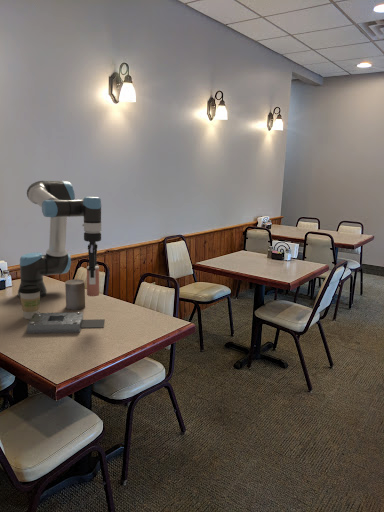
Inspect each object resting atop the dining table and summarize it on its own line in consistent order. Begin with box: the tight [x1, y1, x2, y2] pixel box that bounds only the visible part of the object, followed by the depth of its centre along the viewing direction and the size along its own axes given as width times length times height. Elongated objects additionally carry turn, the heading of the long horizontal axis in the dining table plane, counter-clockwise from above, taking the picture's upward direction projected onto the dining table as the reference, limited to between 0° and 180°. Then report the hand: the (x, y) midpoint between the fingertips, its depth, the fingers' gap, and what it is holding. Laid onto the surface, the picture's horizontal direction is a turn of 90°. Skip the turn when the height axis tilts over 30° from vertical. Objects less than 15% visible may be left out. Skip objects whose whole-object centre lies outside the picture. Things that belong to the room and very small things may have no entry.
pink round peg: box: [86, 265, 100, 297], centre depth 186 cm, size 5×5×13 cm
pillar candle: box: [64, 278, 86, 311], centre depth 212 cm, size 10×10×15 cm
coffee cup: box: [18, 284, 41, 320], centre depth 195 cm, size 10×10×15 cm
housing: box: [26, 311, 84, 335], centre depth 185 cm, size 15×22×5 cm
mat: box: [81, 318, 105, 329], centre depth 191 cm, size 10×10×1 cm
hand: (92, 282), depth 187 cm, fingers closed on pink round peg, 5 cm apart
